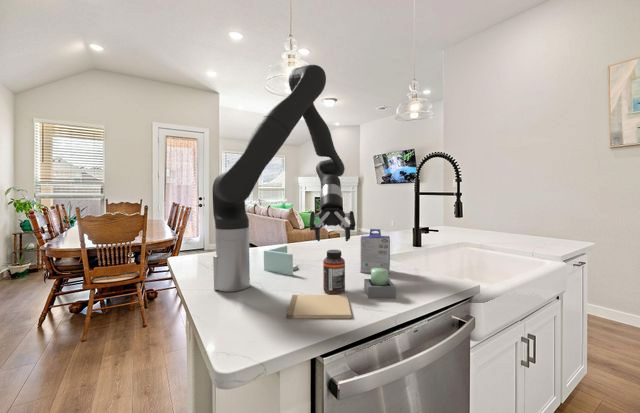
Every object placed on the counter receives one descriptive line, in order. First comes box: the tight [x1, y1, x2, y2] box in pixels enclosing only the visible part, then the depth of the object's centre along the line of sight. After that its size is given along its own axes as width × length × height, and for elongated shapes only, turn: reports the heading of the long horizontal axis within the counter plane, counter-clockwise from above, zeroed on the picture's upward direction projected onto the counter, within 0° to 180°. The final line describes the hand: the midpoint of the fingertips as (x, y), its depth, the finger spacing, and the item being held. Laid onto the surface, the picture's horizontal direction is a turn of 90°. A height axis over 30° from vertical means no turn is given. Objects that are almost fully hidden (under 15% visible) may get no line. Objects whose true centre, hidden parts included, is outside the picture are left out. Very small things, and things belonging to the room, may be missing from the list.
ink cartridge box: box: [360, 228, 391, 275], centre depth 99 cm, size 10×6×14 cm, turn 78°
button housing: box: [363, 278, 397, 300], centre depth 77 cm, size 7×7×3 cm
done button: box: [370, 268, 389, 285], centre depth 77 cm, size 4×4×4 cm
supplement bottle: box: [322, 249, 346, 295], centre depth 79 cm, size 6×6×11 cm
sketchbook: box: [286, 294, 352, 319], centre depth 68 cm, size 14×12×1 cm
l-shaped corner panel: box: [263, 245, 298, 276], centre depth 103 cm, size 12×12×8 cm
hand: (332, 239), depth 86 cm, fingers open, 8 cm apart
